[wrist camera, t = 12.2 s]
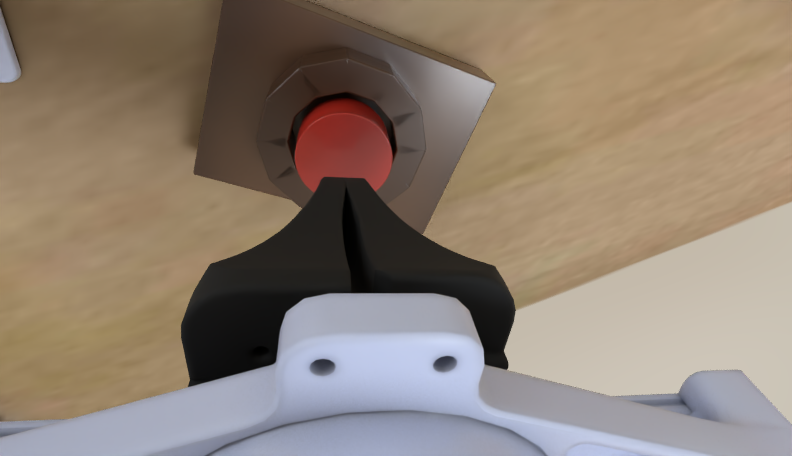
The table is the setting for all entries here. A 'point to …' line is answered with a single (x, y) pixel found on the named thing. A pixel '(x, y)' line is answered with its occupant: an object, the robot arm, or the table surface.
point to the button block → (324, 80)
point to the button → (343, 144)
